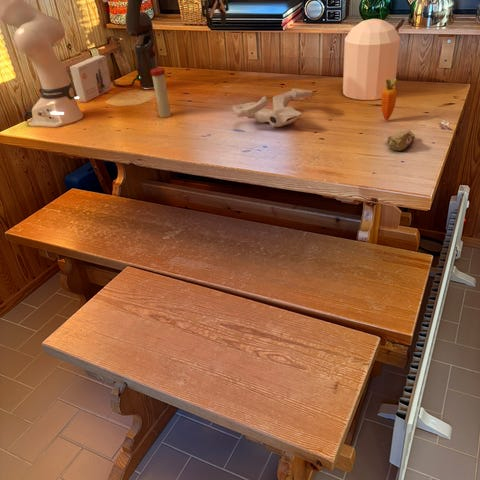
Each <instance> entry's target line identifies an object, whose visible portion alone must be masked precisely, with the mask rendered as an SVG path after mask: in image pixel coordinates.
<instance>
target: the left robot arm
mask: <svg viewBox="0 0 480 480" xmlns="http://www.w3.org/2000/svg"><path fill="white" fill-rule="evenodd" d="M109 1H110V0H102V2H103V3H107V2H109ZM0 21H1V22H2V23H4V24H6V25H8V26H10V27H14V28H17V29H16V30H15V32H14V34H13V41H14V44H15V46H16V47H17V49H18V50H19V51H20V52H21V53H23V54H25V55H26V56H27V57H28V59H29V60H30V62H31V64H32V66H33V67H34V68H35V71H36V74H37V76H38V79H39V82H40V85H41V87H40V88H39V90H37V91H36V92H37V95H39V94H40V97H39V99H38V100H37V101H36V103H35V104H34V105H33V106H32V107H30V108H29V109H28V110H27V111H26V112H25V114H24V116H23V117H24V118H23V119H24V121H25V122H28V126H30V127H31V126H32V127H49V128H58V127H62V126H64V125H68V124H71V123H75V122H77V121H80V120H81V119H82V118H83V117H84V113H83V112H82V111H81V108H80V106H79V105H78V101H77V100H78V98H79V97H77V96H76V95H75V92H74V89H73V84H72V83H71V81H70V79H69V75H68V72H67V68H66V65H65V63H64V62H63V61H62V60H60V59H59V57H58V56H57V54H56V52H55V50H54V47H56V46H58V45H59V44H60V43H61V42H62V41H63V39H64V38H65V35H66V31H65V26H64V24H63V23H62V22H61V20H59V19H58V18H57V17H54V16H51V15H49V14H46V13H44V12H43V11H41V10H39V9H38V8H36V7H35V6H33V5H31V4H29V3H28V2H27V1H25V0H0ZM76 99H77V100H76ZM28 118H31V119H30V120H29V121H28Z"/></svg>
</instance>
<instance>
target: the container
mask: <svg viewBox="0 0 480 480" xmlns="http://www.w3.org/2000/svg"><path fill="white" fill-rule="evenodd" d="M400 42H401V37H400V35H399V34H398V31H397V29H396V27H395V26H394V25H393V24H391V23H390V22H388V21H386V20H384V19H380V18H370V19H365V20H362V21H361V22H359V23H358V24H356V25H354V26H353V27H352V28H351V29H350V30H349V32H348V33H347V35H346V36H345V38H344V47H343V51H344V52H343V53H344V54H343V79H342V80H343V81H342V95H344V96H345V97H347V98H350V99H353V100H360V101H373V100H381V98H382V91H383V90H384V89H386V88H387V87H386V85H387V83H386V79H390V82H391V84H393V82H394V80H395V79H397V78H396V77H397V70H398V60H399V53H400V52H399V51H400ZM389 86H390V85H389ZM391 86H392V85H391ZM393 88H394V89H395V90H396V83H395V84H394V86H393Z"/></svg>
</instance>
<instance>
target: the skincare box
mask: <svg viewBox="0 0 480 480" xmlns="http://www.w3.org/2000/svg"><path fill="white" fill-rule="evenodd" d="M69 70H70V74H71V78H72V82H73V86H74V90H75V94H76V97H79V98H77V102H81V103H82V102H84V103H87V102H89V101H91V100H93V99H95V98H97V97H100V96H101V95H103V94H105V93H107V92H108V91H110V90H112V89H113V86H112V82H111V81H110V80H111V76H110V72H109V71H110V70H109V66H108V62H107V57H106V55H100V54H99V55H95V56H92V57H90V58H87V59H85V60H83V61H80V62H78V63H75V64H73V65H71V66H69Z"/></svg>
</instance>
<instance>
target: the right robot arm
mask: <svg viewBox="0 0 480 480" xmlns="http://www.w3.org/2000/svg"><path fill="white" fill-rule="evenodd" d="M126 3H127V4H126V10H125V19H124V21H125V29H126V32H127V33H128V35H129V36H131V37H138V39H137V41H136V42H135V43H134V45H133V50H134V54H135V59H136V64H137V67H136V71H137V72H136V73H137V74H136V75H135V78H134V79H133V80H132V83H129V84H118V83H116V81H115V80H112V79H110V81H111V83H112V84H113V86H114V87H118V88H119V87H120V88H127V87H128V88H129V87H132V86H134V84H135V82H136V81H137V82H139V87H140V89H142V90H145V91H151V90H152V91H153V90H155V89H154V83H153V78H152V75H151V73H150V70H151V69H154V68H159V67H158V66H159V65H158V62H157V61H158V60H157V55H156V50H155V34H154V33H155V32H154V26H153V21H152V18H151V16H150V14H149V13H148V12H146V11H141V10H142V5H143V3H144V0H127V2H126ZM200 6H201V7H200V8H201V16H202V18H205V20H206V26H207V28H208V29H214V22H213V14H214V13H215V11H216V10H218V12H219V18H220V24H221V25H226V24H227V12H229V10H230V7H229V6H230V5H229V0H200Z"/></svg>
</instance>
